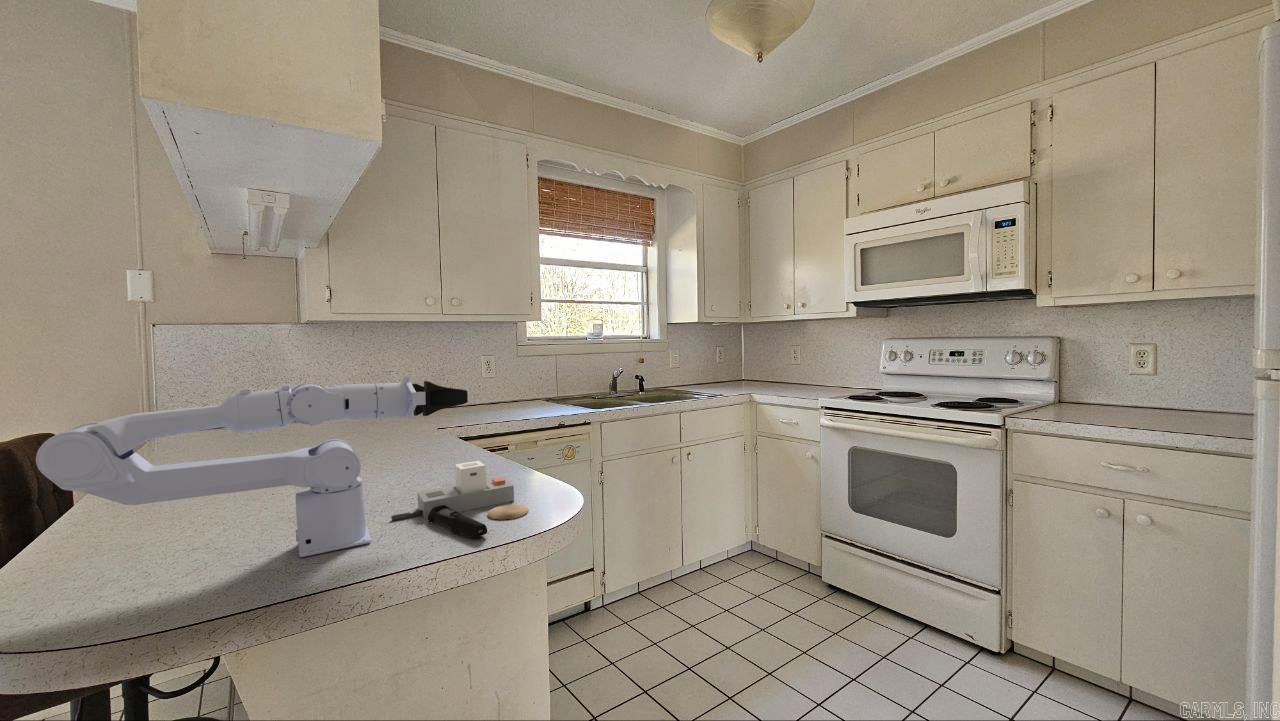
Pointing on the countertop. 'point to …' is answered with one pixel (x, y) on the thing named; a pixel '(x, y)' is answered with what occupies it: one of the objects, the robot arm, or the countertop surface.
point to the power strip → (462, 498)
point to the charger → (470, 477)
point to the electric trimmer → (457, 522)
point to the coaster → (508, 511)
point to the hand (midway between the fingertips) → (461, 397)
